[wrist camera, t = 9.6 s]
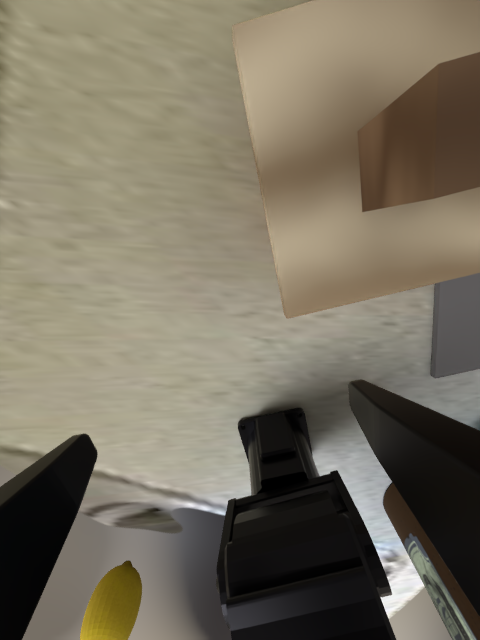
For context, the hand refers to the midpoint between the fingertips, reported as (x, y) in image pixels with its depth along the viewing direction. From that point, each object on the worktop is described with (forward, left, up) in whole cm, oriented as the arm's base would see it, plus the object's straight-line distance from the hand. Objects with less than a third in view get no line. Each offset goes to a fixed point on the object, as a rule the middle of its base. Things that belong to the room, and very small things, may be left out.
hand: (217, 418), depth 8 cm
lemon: (-29, +21, -12) cm, 38 cm away
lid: (+7, -10, -7) cm, 14 cm away
